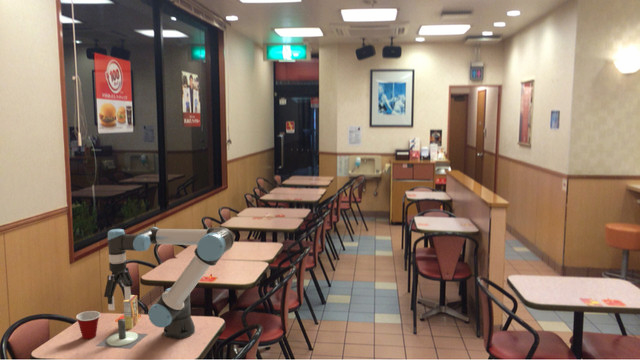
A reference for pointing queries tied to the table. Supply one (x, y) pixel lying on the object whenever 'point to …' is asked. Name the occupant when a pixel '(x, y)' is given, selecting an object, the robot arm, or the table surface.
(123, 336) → the lid
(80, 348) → the table surface
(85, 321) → the plastic cup
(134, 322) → the candy box
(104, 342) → the mat
